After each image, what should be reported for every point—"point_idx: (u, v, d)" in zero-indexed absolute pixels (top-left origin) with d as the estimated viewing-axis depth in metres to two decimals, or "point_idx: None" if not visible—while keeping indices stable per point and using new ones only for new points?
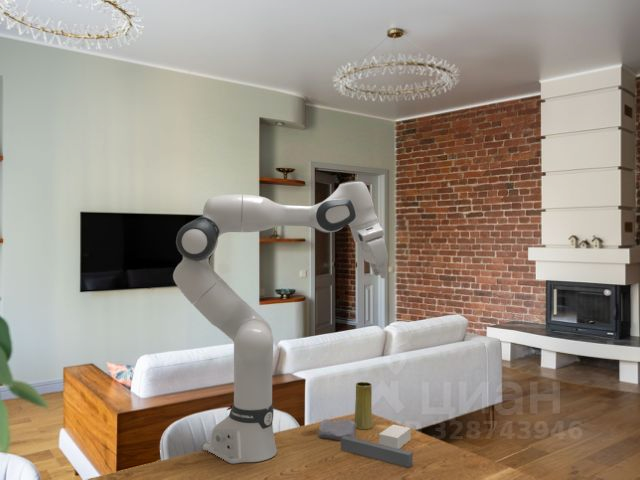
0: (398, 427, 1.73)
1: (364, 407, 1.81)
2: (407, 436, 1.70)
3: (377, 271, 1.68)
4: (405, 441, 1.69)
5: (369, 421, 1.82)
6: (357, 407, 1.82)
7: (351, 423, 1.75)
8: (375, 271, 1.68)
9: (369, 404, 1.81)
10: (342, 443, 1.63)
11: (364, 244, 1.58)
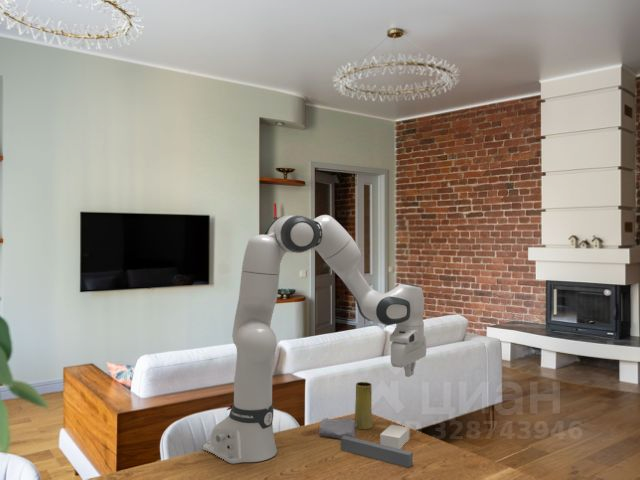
0: (397, 426, 1.73)
1: (364, 407, 1.81)
2: (407, 435, 1.70)
3: None
4: (405, 441, 1.69)
5: (369, 421, 1.82)
6: (357, 407, 1.82)
7: (351, 422, 1.77)
8: None
9: (369, 404, 1.81)
10: (342, 443, 1.63)
11: None
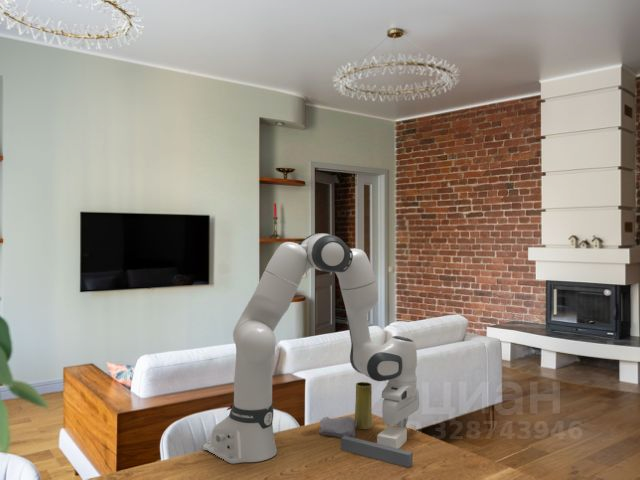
0: (394, 427, 1.72)
1: (364, 407, 1.81)
2: (404, 436, 1.69)
3: (402, 427, 1.74)
4: (402, 442, 1.68)
5: (369, 421, 1.82)
6: (357, 407, 1.82)
7: (351, 420, 1.78)
8: None
9: (369, 404, 1.81)
10: (342, 443, 1.63)
11: None
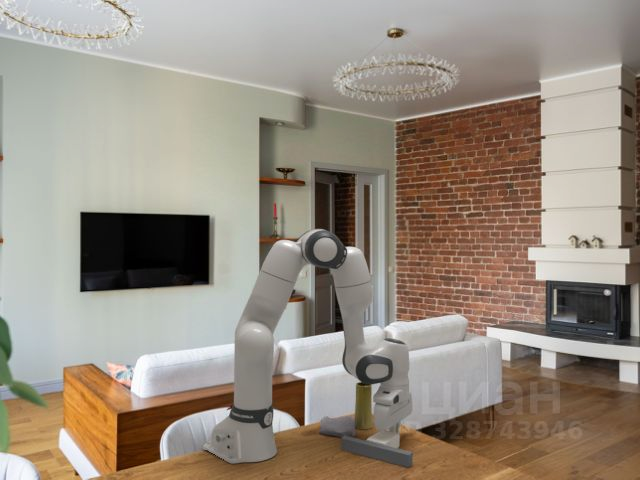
0: (387, 432, 1.67)
1: (364, 407, 1.81)
2: (396, 441, 1.65)
3: None
4: (393, 447, 1.63)
5: (369, 421, 1.82)
6: (357, 407, 1.82)
7: (351, 420, 1.79)
8: None
9: (369, 404, 1.81)
10: (342, 443, 1.63)
11: None
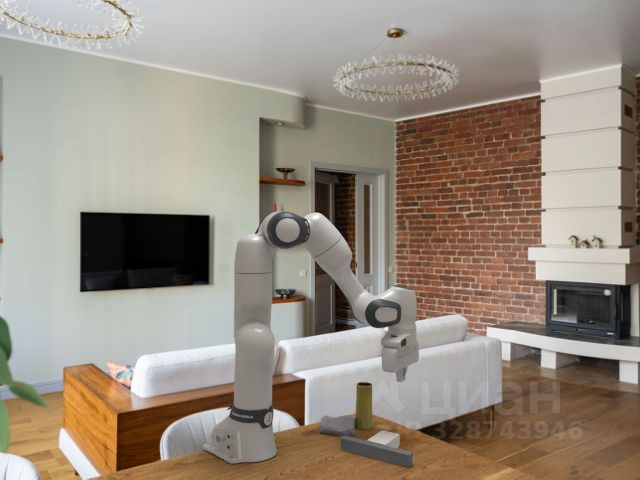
0: (387, 433, 1.67)
1: (365, 407, 1.81)
2: (396, 442, 1.65)
3: None
4: None
5: (370, 421, 1.82)
6: (358, 407, 1.82)
7: (351, 419, 1.80)
8: None
9: (370, 404, 1.81)
10: (342, 443, 1.63)
11: None
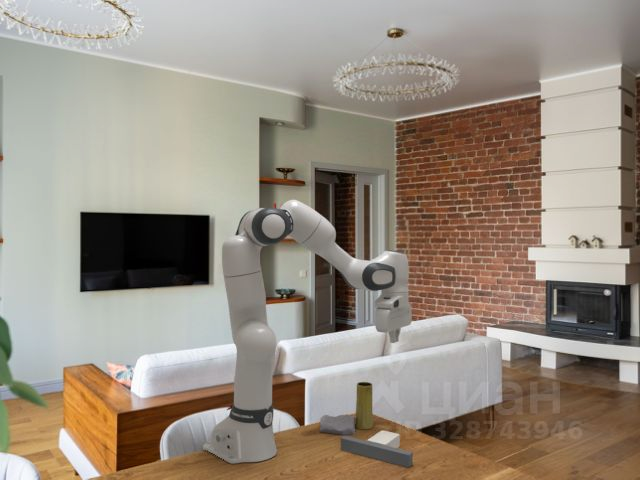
0: (387, 433, 1.68)
1: (365, 407, 1.81)
2: (396, 442, 1.65)
3: None
4: None
5: (370, 421, 1.82)
6: (358, 407, 1.82)
7: (351, 418, 1.80)
8: None
9: (370, 404, 1.81)
10: (342, 443, 1.63)
11: None
